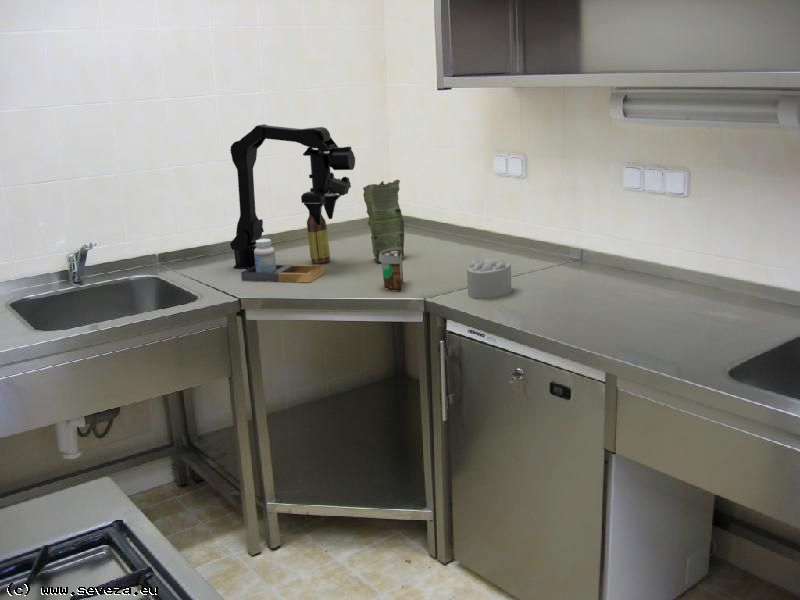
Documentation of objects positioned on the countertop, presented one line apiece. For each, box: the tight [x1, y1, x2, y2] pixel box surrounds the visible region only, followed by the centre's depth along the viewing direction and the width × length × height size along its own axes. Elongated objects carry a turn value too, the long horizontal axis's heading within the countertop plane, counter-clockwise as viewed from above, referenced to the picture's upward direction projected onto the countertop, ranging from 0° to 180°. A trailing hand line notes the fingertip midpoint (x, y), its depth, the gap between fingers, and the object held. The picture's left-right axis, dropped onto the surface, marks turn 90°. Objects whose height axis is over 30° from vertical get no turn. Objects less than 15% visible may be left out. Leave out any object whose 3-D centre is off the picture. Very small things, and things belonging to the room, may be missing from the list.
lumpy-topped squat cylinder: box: [466, 257, 512, 300], centre depth 223 cm, size 10×13×9 cm
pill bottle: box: [254, 238, 277, 272], centre depth 253 cm, size 6×6×11 cm
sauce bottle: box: [306, 211, 331, 264], centre depth 267 cm, size 7×6×20 cm
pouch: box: [362, 178, 405, 264], centre depth 265 cm, size 11×12×25 cm
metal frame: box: [240, 263, 325, 283], centre depth 253 cm, size 22×11×2 cm, turn 72°
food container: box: [379, 247, 404, 292], centre depth 234 cm, size 12×6×10 cm, turn 177°
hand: (324, 221), depth 257 cm, fingers open, 9 cm apart
